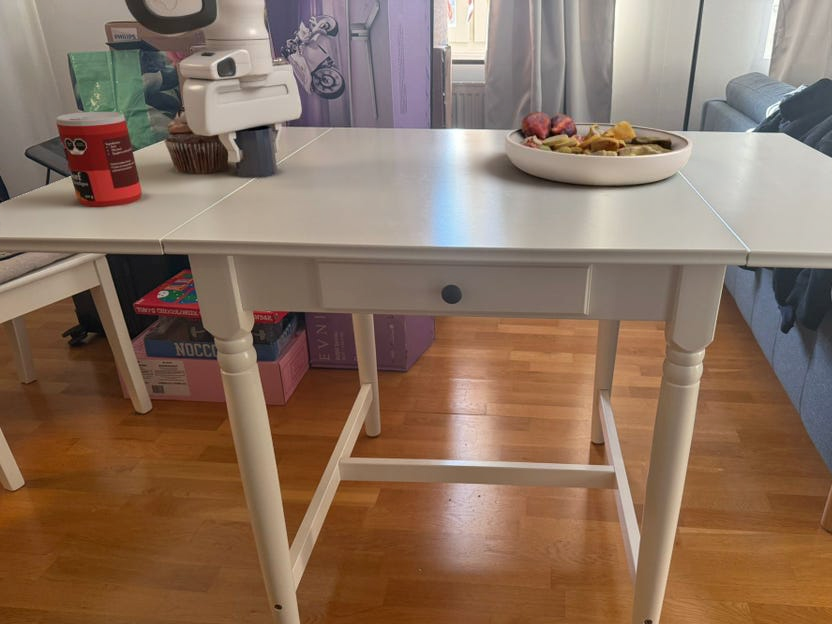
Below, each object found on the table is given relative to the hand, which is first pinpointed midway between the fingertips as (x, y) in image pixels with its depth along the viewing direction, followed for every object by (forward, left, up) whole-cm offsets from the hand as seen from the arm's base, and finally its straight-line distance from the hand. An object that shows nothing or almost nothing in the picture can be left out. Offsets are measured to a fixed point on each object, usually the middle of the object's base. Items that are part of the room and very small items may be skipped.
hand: (255, 157), depth 105 cm
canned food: (-6, -22, -3) cm, 22 cm away
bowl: (+45, +31, -3) cm, 55 cm away
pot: (0, 0, -3) cm, 3 cm away
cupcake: (-10, -2, -3) cm, 11 cm away
